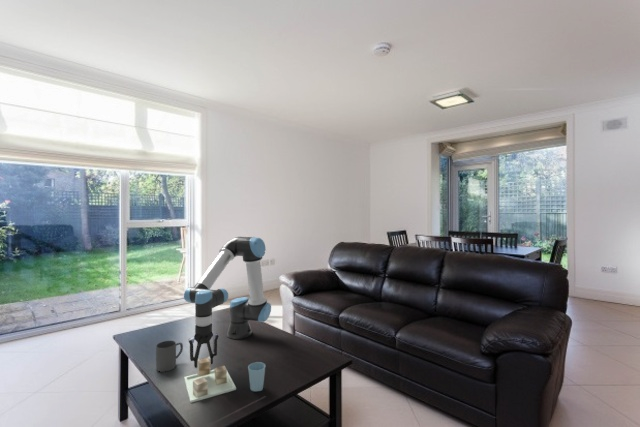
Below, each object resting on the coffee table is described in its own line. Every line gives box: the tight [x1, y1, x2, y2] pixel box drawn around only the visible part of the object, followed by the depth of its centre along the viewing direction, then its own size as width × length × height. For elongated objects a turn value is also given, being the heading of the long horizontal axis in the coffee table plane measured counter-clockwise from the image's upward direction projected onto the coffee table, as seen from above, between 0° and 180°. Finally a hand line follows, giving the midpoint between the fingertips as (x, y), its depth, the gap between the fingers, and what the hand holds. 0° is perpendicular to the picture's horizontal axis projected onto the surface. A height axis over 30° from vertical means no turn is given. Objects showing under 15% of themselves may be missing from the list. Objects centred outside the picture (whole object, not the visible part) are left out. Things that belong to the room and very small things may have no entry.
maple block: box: [193, 377, 208, 398], centre depth 135 cm, size 4×4×6 cm
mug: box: [155, 340, 184, 373], centre depth 161 cm, size 14×9×12 cm
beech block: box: [214, 365, 228, 385], centre depth 146 cm, size 4×4×6 cm
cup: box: [247, 361, 266, 392], centre depth 141 cm, size 8×8×10 cm
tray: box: [183, 368, 237, 404], centre depth 144 cm, size 19×21×2 cm
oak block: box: [199, 357, 210, 377], centre depth 149 cm, size 4×4×6 cm
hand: (203, 372), depth 149 cm, fingers closed on oak block, 4 cm apart
